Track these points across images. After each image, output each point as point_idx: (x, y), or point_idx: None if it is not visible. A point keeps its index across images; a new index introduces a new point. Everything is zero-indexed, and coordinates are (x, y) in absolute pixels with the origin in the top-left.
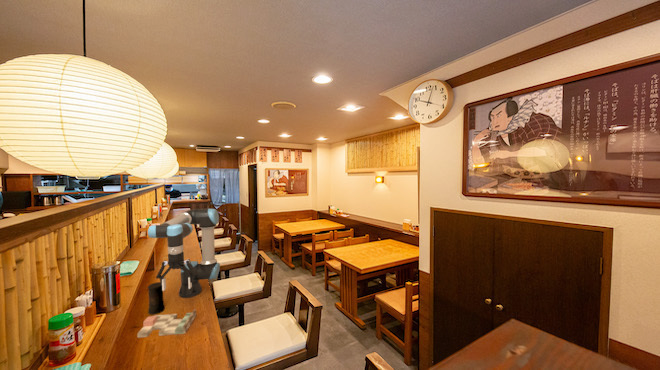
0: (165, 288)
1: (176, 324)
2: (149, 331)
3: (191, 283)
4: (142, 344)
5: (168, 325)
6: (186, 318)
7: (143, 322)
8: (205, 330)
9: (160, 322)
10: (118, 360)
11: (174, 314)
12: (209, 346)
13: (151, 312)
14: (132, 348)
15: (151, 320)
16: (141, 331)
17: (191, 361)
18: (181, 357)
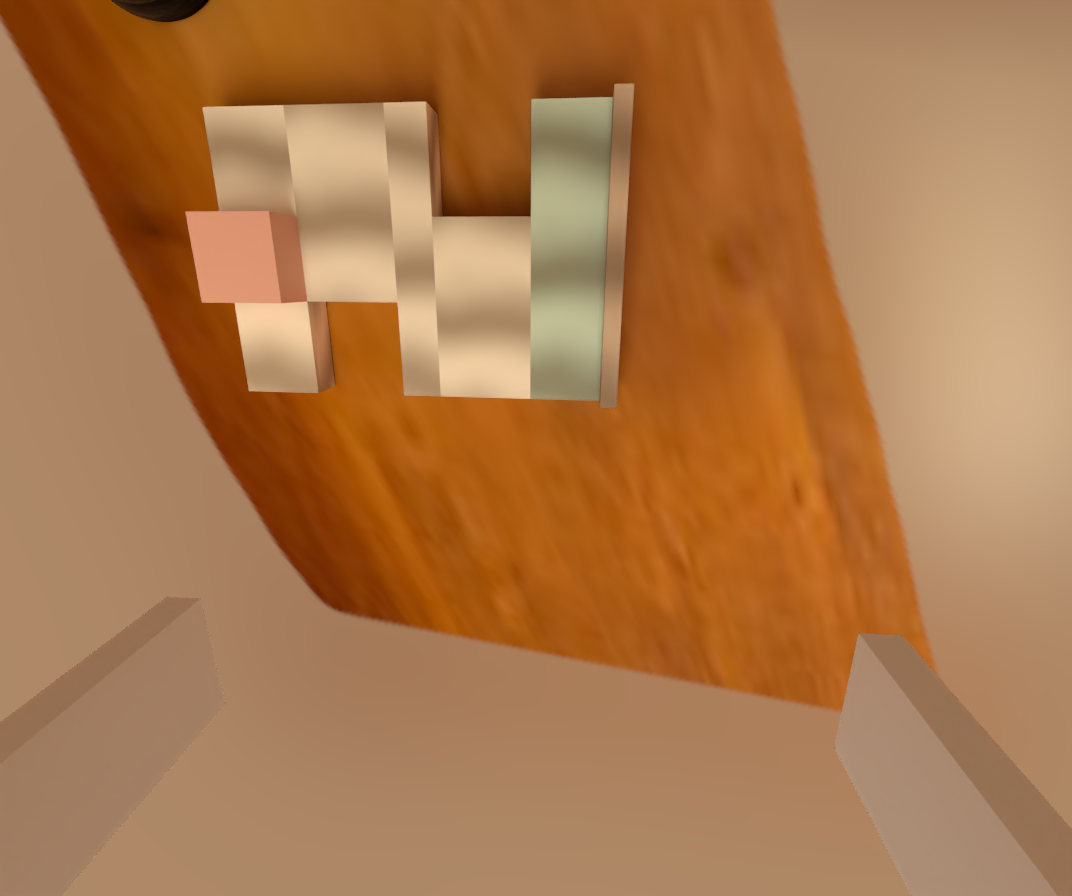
0: (198, 640)
1: (508, 314)
2: (320, 356)
3: (975, 748)
4: (354, 465)
5: (442, 318)
6: (566, 219)
7: (208, 302)
8: (775, 381)
9: (344, 255)
10: (304, 581)
11: (408, 116)
12: (838, 572)
13: (132, 5)
14: (313, 493)
15: (263, 291)
16: (263, 369)
17: (743, 673)
18: (671, 631)
